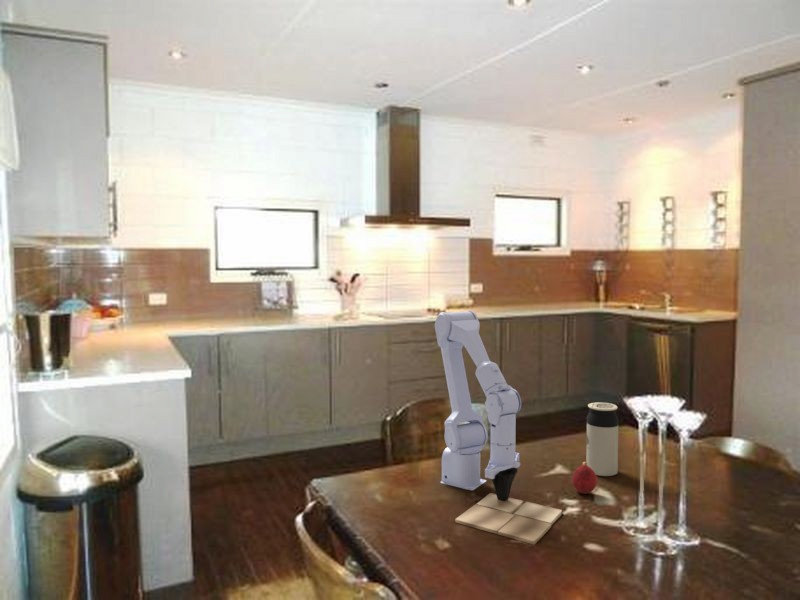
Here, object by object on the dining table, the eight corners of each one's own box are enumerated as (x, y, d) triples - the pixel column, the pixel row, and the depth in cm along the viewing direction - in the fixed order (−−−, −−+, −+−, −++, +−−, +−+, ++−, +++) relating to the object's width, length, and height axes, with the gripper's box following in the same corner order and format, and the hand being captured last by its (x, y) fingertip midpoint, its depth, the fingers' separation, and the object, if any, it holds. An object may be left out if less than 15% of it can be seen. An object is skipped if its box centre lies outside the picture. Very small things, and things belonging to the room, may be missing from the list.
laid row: (454, 524, 126) (454, 519, 126) (474, 509, 134) (474, 504, 134) (534, 547, 116) (534, 541, 116) (551, 529, 123) (551, 524, 123)
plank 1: (476, 508, 134) (476, 503, 134) (490, 497, 140) (490, 492, 140) (510, 517, 129) (510, 512, 129) (523, 506, 135) (523, 500, 135)
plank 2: (513, 518, 129) (513, 513, 129) (526, 506, 134) (526, 501, 134) (550, 528, 124) (550, 522, 124) (562, 515, 130) (562, 510, 130)
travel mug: (620, 469, 158) (621, 404, 157) (613, 479, 151) (614, 410, 150) (590, 464, 162) (591, 400, 161) (582, 473, 156) (583, 406, 155)
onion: (598, 500, 138) (598, 467, 138) (573, 498, 139) (573, 465, 139) (595, 490, 144) (595, 458, 143) (571, 489, 145) (571, 457, 145)
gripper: (505, 453, 127) (505, 514, 127) (531, 437, 138) (531, 493, 139) (476, 448, 131) (476, 507, 131) (504, 432, 142) (503, 486, 143)
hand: (502, 499), depth 136 cm, fingers closed
